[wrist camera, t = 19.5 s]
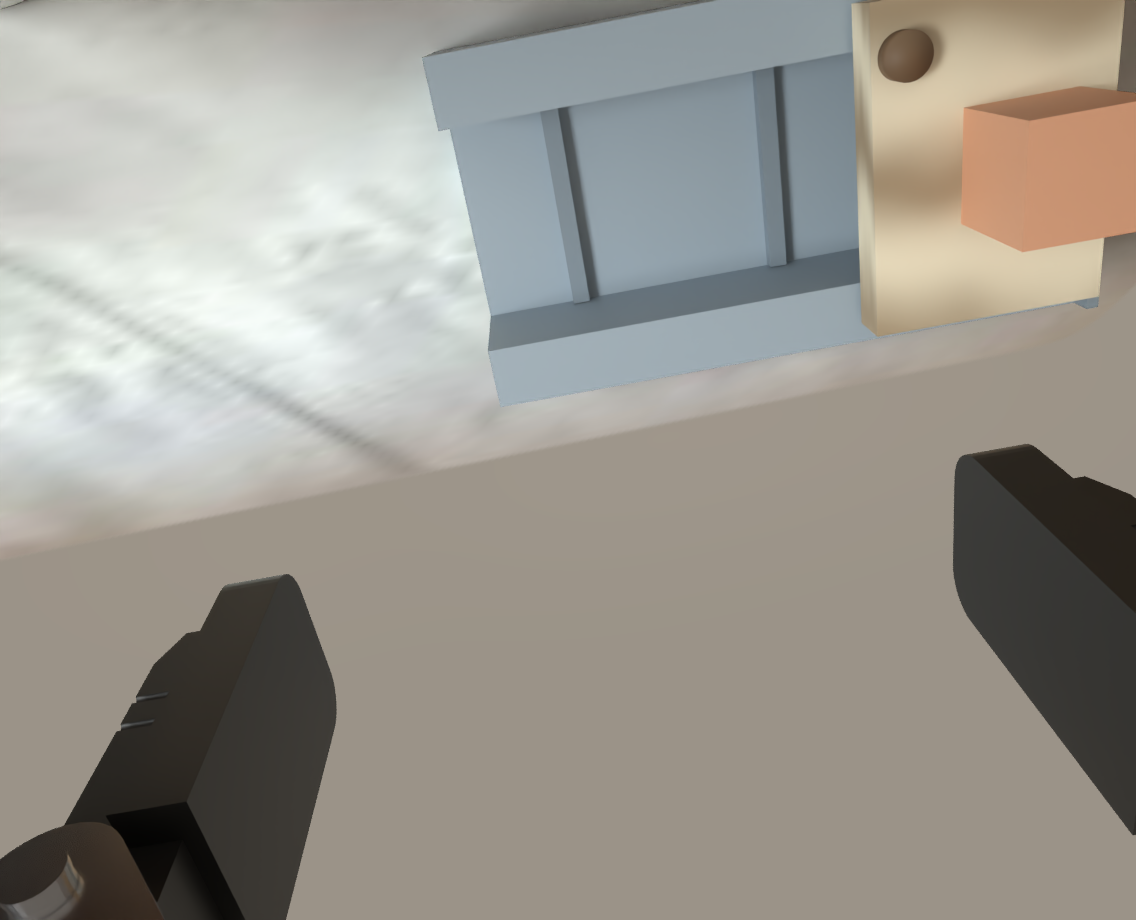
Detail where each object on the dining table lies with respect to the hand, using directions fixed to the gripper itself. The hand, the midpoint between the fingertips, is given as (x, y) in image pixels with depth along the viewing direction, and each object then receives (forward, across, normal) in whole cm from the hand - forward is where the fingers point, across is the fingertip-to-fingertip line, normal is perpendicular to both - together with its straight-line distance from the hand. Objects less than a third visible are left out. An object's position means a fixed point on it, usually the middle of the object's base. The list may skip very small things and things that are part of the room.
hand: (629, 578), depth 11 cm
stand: (+36, -10, +2) cm, 37 cm away
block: (+27, -18, +2) cm, 33 cm away
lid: (+29, -18, +2) cm, 34 cm away
